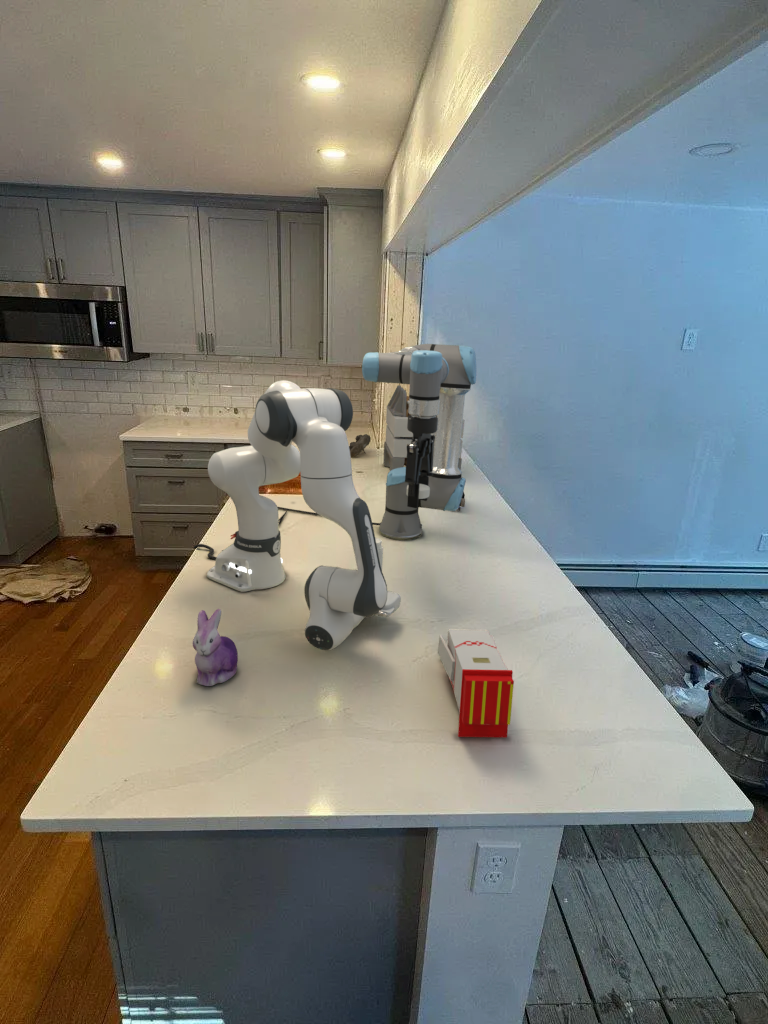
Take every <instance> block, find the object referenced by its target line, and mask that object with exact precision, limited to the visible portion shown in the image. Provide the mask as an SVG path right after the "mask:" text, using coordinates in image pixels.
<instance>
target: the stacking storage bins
mask: <svg viewBox="0 0 768 1024" xmlns="http://www.w3.org/2000/svg"><path fill="white" fill-rule="evenodd" d="M407 394H408V393H407V390H406V389H404V388H403V387H402V385H399V384H398V385H397V386H396V388H395V390H394V392H393V394H392V395H391V398H390V400H389V402H388V404H387V405H386V413H385V414H386V415H385V423H386V428H385V438H384V442H383V466H384V467H388V468H389V472H390V471H391V470H393V469H396V468H401V467H405V466H406V461H407V444H411V441H412V438H413V433H412V432H410V431H408V429H407V423H408V416H409V415H410V414H409V413H408V408H409V404H408V403H407V401H408V400H409V395H407ZM436 417H437V416H436ZM464 429H465V419H464V418H463V420H462V430H461V440H460V450H459V460H458V468H459V469H460V471H461V472H462V461H463V460H462V453H463V442H464V441H463V440H462V439H463V438H464V431H465V430H464ZM431 435H434V436H435V433H432V434H431ZM418 454H419V453H418Z"/></svg>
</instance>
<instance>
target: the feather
mask: <svg viewBox="0 0 768 1024" xmlns="http://www.w3.org/2000/svg"><path fill="white" fill-rule="evenodd" d="M287 512H288V511H287V510H285V512H284V513H283V514H282V515H281V517H280V518H279V526H280V525H281V524H282V522H283V519H284V518H285V516H286V514H287Z"/></svg>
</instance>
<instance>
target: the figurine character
mask: <svg viewBox="0 0 768 1024" xmlns="http://www.w3.org/2000/svg"><path fill="white" fill-rule="evenodd" d="M464 491H465V490H464ZM464 491H463V495H462V499H461V502H460V505H459V507H458V509H457V510H458V511H461V510H462V509H461V508H465V505H466V497H465V496H466V494H465V492H464Z"/></svg>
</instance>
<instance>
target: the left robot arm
mask: <svg viewBox="0 0 768 1024" xmlns="http://www.w3.org/2000/svg"><path fill="white" fill-rule="evenodd" d="M353 417H354V410H353V403H352V401H351V399H350V397H349V396H348V394H347V393H346V392H345V391H343V390H341V389H337V388H333V387H328V388H317V387H315V388H314V387H302V388H301V387H300V385H298V384H297V383H295V382H293V381H290V380H286V379H285V380H283V379H282V380H277V381H275V382H272V383H271V384H270V385H269V386H268V388H267V389H266V390H265V392H264V393H263V394H262V395H261V396H259V398H258V399H257V401H256V404H255V411H254V412H253V416H252V418H251V420H250V423H249V426H248V428H247V439H248V443H249V444H250V445H244V446H236V447H229V448H226V449H222V450H220V451H217V452H213V454H212V455H211V457H210V458H209V460H208V464H207V474H208V477H209V480H210V481H211V482H212V484H213V485H214V486H215V487H216V488H217V489H219V490H221V491H222V492H224V493H225V494H226V495H228V496H229V498H230V499H231V501H232V502H233V504H234V507H235V511H236V518H237V527H238V528H237V529H238V530H236V531H235V532H234V533H233V534H231V535H230V540H233V539H234V541H233V542H232V543H231V544H230V545H228V546H227V547H226V548H224V549H223V550H221V551H220V552H219V553H218V554H217V556H214V555H213V554H214V552H215V549H214V548H213V547H211V546H209V545H207V544H203V543H197V544H195V545H194V546H193V549H198V548H204V549H207V550H209V552H208V553H207V558H208V559H210V560H212V561H213V560H214V561H215V562H214V566H213V567H211V568H209V570H208V571H207V572H206V578H207V579H209V580H210V581H211V580H212V581H213V582H217V583H219V584H221V585H224V586H226V587H228V588H231V589H233V590H236V591H238V592H242V593H245V592H250V591H254V590H265V589H270V588H274V587H276V586H279V585H281V584H282V583H283V582H284V581H285V580H286V577H287V575H286V573H285V569H284V566H283V558H282V556H281V549H282V548H281V547H282V540H281V538H282V537H281V530H280V525H279V521H280V520H279V519H280V518H279V509H278V507H279V506H278V505H277V504H276V502H275V501H274V500H273V499H271V498H269V497H266V496H265V495H260V491H259V489H260V487H263V486H269V485H275V484H276V485H277V484H282V483H285V482H287V481H290V480H294V479H295V478H297V477H298V476H299V475H300V488H301V495H302V497H303V500H304V503H306V505H307V507H308V508H310V510H311V511H313V513H317V514H319V515H320V517H323V518H324V519H327V520H329V521H331V522H332V523H334V524H336V525H338V526H339V527H341V528H342V529H343V530H344V531H345V532H346V533H347V534H348V536H349V538H350V540H351V543H352V548H353V553H354V557H355V558H354V559H355V563H356V564H355V565H356V568H357V569H354V568H353V569H352V568H345V567H339V566H331V565H323V564H322V565H321V564H320V565H319V566H317V567H315V568H314V569H313V571H312V572H311V573H310V574H309V575H308V577H307V579H306V581H305V584H304V589H303V590H304V592H303V593H304V599H305V602H306V606H307V608H308V610H309V614H308V619H307V622H306V625H305V626H304V636H305V639H306V641H307V642H308V643H309V644H310V645H311V646H312V647H314V648H316V649H318V650H322V651H331V650H333V649H335V648H337V647H338V646H340V645H341V644H342V643H343V642H344V641H345V640H346V639H347V638H348V637H349V636H350V635H351V633H352V632H353V630H354V629H355V628H356V627H357V626H359V625H360V624H361V622H362V621H363V620H364V619H365V618H367V619H369V618H371V617H373V616H377V617H383V618H387V617H389V616H392V615H393V614H394V613H395V612H396V611H398V609H400V607H401V602H402V597H401V594H400V593H399V592H395V591H390V590H388V584H387V582H386V578H385V576H384V573H383V568H382V569H381V565H380V560H379V555H378V550H377V545H376V540H375V537H376V535H375V530H374V525H373V524H372V523H373V519H372V516H371V511H370V509H369V506H368V504H367V502H366V501H365V500H363V499H362V498H361V497H360V495H359V494H358V492H357V489H356V486H355V484H354V479H353V468H352V467H353V466H352V457H351V456H350V449H349V446H350V443H349V440H348V435H347V433H346V431H348V429H349V428H350V426H351V424H352V422H353ZM292 443H294V444H295V445H293V444H292ZM319 515H318V516H319Z"/></svg>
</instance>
